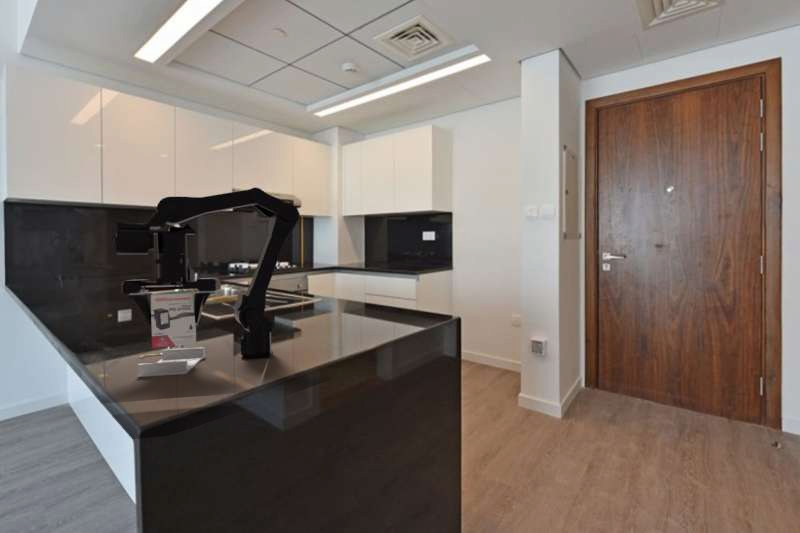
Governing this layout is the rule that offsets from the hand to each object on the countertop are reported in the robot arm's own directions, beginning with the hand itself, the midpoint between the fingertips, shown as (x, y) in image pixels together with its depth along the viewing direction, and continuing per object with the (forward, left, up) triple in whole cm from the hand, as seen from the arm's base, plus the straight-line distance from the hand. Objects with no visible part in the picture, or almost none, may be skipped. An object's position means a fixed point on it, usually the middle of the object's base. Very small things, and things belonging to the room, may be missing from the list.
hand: (174, 323), depth 88 cm
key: (+9, -11, -10) cm, 17 cm away
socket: (0, 0, -10) cm, 10 cm away
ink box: (0, 0, -5) cm, 5 cm away
